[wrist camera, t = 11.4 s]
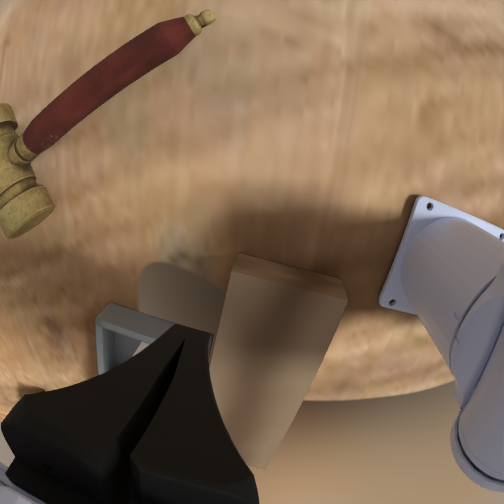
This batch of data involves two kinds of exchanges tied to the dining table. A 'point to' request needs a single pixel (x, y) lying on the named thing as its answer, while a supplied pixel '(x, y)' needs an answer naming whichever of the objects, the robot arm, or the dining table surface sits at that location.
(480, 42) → the dining table surface
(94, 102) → the gavel
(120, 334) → the tray
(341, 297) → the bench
